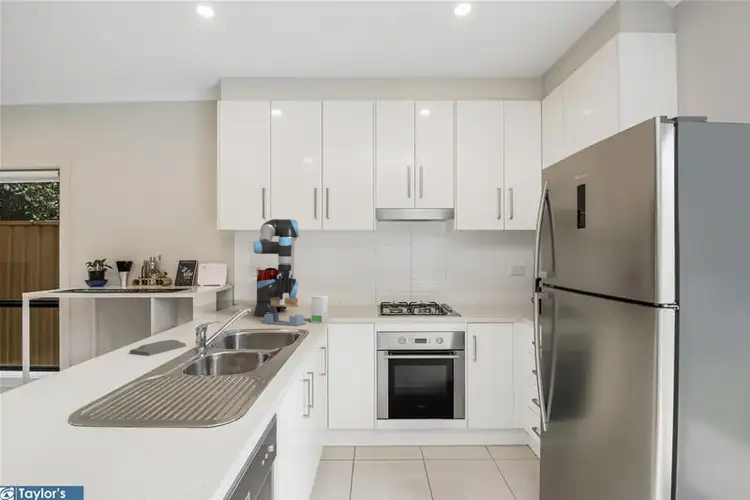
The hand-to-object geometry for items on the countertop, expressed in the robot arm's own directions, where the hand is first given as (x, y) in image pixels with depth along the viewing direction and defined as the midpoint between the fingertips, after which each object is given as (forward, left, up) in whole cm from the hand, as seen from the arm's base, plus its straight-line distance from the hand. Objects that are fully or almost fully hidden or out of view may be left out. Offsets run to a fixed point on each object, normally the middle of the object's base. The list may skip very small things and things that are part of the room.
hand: (284, 304), depth 258 cm
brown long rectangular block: (0, 0, -1) cm, 1 cm away
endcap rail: (0, 0, -11) cm, 11 cm away
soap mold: (+84, -2, -12) cm, 85 cm away
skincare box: (-15, +15, -11) cm, 24 cm away
